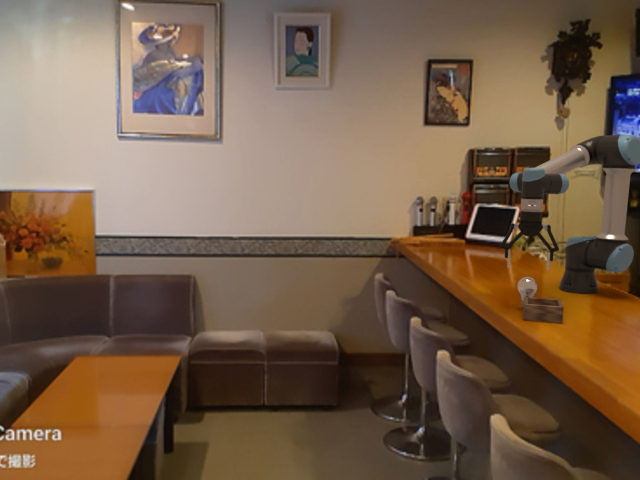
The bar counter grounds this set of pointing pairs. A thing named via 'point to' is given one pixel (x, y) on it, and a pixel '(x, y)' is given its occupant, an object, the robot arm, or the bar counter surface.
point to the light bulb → (527, 287)
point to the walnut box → (543, 310)
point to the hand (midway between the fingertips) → (527, 268)
